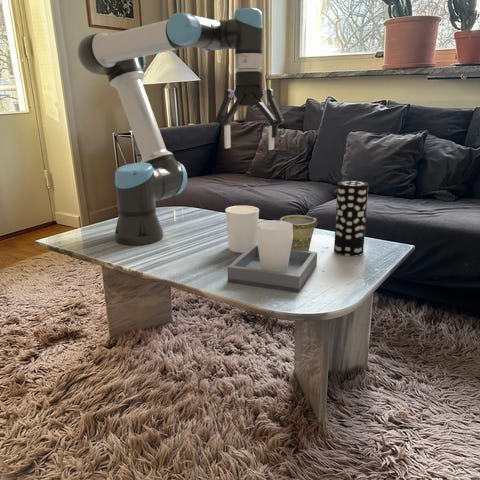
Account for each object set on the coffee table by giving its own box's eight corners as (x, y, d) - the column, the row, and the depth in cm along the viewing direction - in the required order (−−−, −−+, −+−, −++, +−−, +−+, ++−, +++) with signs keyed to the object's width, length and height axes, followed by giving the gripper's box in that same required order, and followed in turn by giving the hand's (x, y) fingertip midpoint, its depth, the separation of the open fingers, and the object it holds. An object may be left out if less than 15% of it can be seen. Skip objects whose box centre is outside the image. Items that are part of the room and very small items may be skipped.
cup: (293, 277, 112) (294, 230, 108) (256, 277, 112) (256, 230, 108) (290, 263, 120) (291, 220, 117) (256, 263, 121) (256, 220, 117)
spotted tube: (335, 245, 137) (339, 180, 131) (364, 248, 135) (369, 181, 129) (332, 254, 130) (336, 185, 124) (362, 257, 127) (367, 186, 121)
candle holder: (223, 253, 132) (222, 213, 128) (229, 242, 141) (228, 205, 138) (257, 254, 131) (257, 214, 127) (260, 243, 140) (260, 205, 136)
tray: (227, 281, 112) (227, 266, 111) (253, 258, 128) (253, 244, 126) (299, 292, 105) (299, 276, 104) (316, 266, 121) (317, 252, 120)
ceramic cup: (297, 261, 125) (298, 226, 122) (272, 252, 132) (272, 219, 129) (328, 251, 133) (330, 218, 130) (303, 243, 140) (304, 211, 137)
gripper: (202, 71, 127) (204, 148, 134) (288, 69, 118) (286, 151, 125) (213, 72, 134) (215, 145, 140) (296, 70, 125) (294, 148, 131)
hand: (249, 148), depth 133 cm, fingers open, 13 cm apart
